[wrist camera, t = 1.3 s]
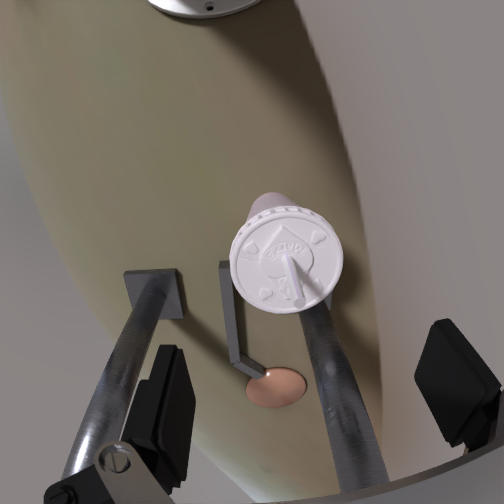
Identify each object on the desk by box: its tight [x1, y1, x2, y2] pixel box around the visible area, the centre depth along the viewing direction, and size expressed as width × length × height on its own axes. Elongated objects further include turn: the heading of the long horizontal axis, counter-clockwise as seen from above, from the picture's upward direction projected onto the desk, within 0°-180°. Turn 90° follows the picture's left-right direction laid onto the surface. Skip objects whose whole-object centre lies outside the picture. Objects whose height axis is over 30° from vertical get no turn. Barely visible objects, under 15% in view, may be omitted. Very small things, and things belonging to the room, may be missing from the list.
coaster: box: [246, 367, 306, 408], centre depth 34 cm, size 7×7×1 cm
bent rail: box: [219, 260, 264, 380], centre depth 29 cm, size 14×3×2 cm, turn 3°
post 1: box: [61, 269, 185, 480], centre depth 19 cm, size 5×5×20 cm
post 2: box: [287, 291, 390, 493], centre depth 19 cm, size 5×5×20 cm
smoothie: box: [229, 192, 343, 314], centre depth 19 cm, size 6×6×14 cm
